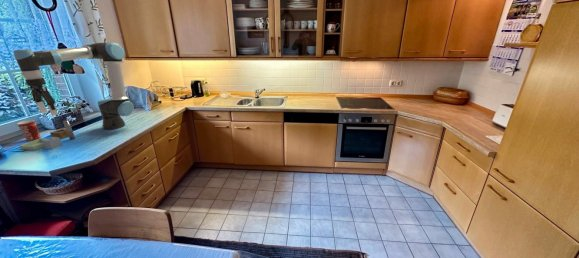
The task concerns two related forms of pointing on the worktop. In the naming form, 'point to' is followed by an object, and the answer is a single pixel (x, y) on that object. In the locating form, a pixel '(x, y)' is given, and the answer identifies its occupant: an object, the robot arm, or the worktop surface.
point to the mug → (29, 130)
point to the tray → (33, 145)
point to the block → (52, 143)
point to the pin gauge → (69, 130)
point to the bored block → (60, 133)
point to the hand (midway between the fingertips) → (49, 113)
